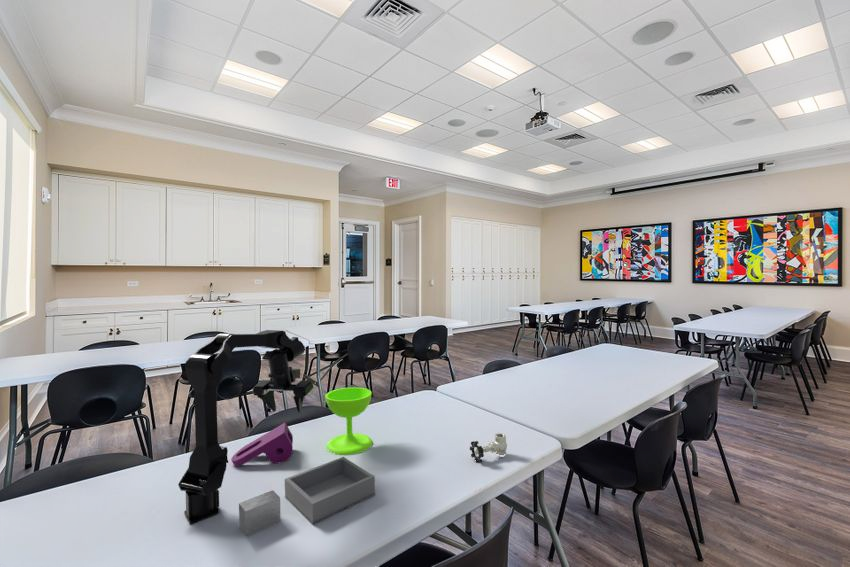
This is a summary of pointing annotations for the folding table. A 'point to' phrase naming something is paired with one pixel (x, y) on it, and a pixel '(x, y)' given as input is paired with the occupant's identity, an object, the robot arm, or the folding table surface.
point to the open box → (329, 489)
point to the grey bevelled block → (259, 513)
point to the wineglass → (348, 419)
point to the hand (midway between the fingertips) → (287, 411)
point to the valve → (490, 447)
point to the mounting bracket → (267, 447)
